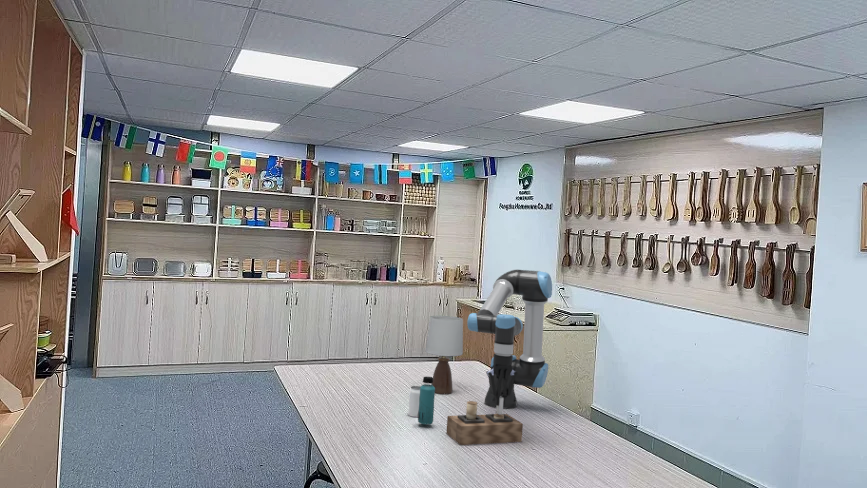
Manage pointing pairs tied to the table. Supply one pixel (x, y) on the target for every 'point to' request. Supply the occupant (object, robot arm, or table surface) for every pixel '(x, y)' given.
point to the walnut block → (484, 429)
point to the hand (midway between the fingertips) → (499, 413)
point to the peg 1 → (471, 410)
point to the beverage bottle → (426, 402)
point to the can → (414, 401)
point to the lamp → (444, 348)
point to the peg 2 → (498, 416)
